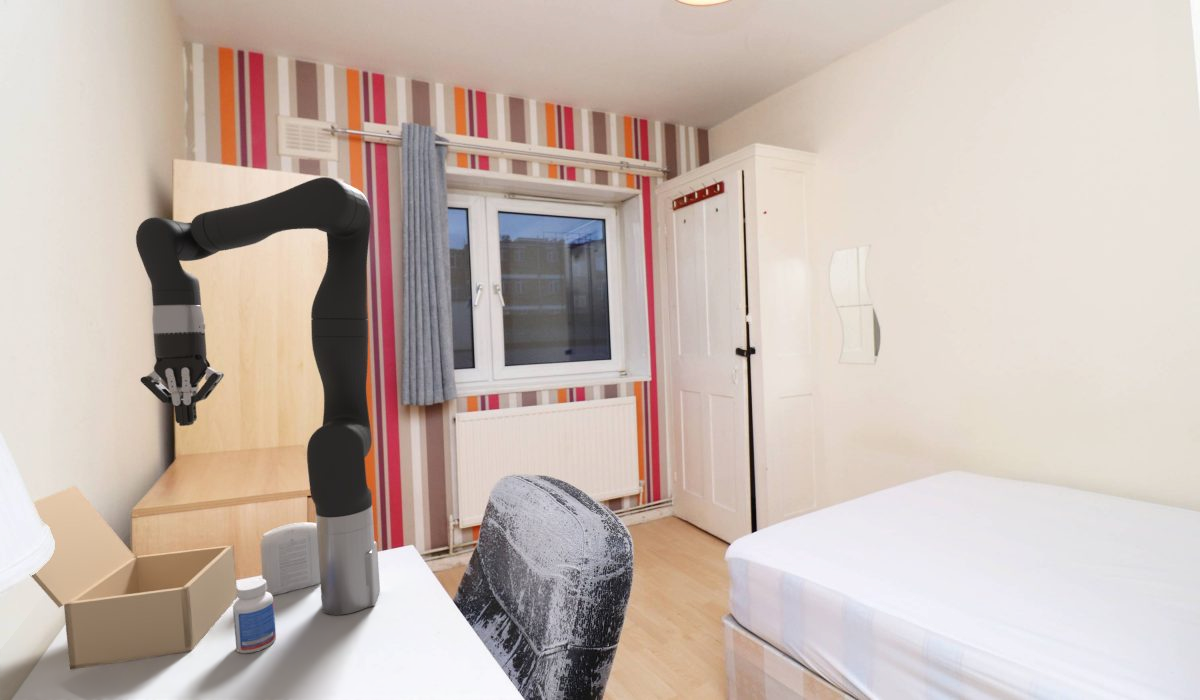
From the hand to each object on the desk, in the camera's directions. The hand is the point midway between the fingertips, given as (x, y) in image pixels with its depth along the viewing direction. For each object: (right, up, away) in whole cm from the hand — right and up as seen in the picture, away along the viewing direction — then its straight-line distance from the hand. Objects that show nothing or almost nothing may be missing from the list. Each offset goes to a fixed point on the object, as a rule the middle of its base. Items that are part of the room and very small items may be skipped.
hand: (186, 424), depth 103 cm
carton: (+2, -33, -8) cm, 35 cm away
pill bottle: (+21, -33, -14) cm, 42 cm away
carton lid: (-10, -17, -12) cm, 23 cm away
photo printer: (+17, -32, +5) cm, 37 cm away
